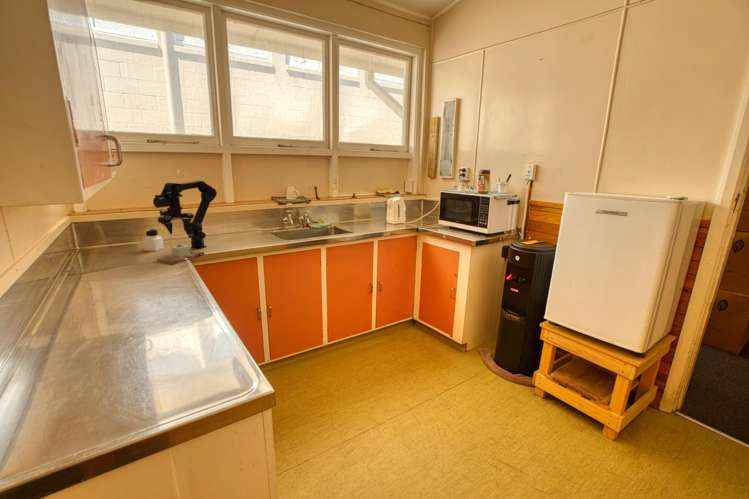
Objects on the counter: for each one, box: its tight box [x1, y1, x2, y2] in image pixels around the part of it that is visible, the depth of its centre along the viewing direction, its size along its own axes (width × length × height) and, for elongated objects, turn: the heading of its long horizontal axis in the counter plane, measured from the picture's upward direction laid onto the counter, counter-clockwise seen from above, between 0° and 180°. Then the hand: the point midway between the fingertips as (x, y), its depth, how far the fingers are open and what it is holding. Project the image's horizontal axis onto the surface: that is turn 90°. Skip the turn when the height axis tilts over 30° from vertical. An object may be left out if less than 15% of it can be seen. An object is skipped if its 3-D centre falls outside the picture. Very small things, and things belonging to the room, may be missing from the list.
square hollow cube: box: [171, 244, 191, 257], centre depth 192 cm, size 6×6×5 cm
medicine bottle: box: [142, 228, 165, 252], centre depth 206 cm, size 7×7×12 cm
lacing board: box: [156, 243, 205, 265], centre depth 192 cm, size 20×12×8 cm, turn 157°
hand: (178, 232), depth 199 cm, fingers open, 9 cm apart
